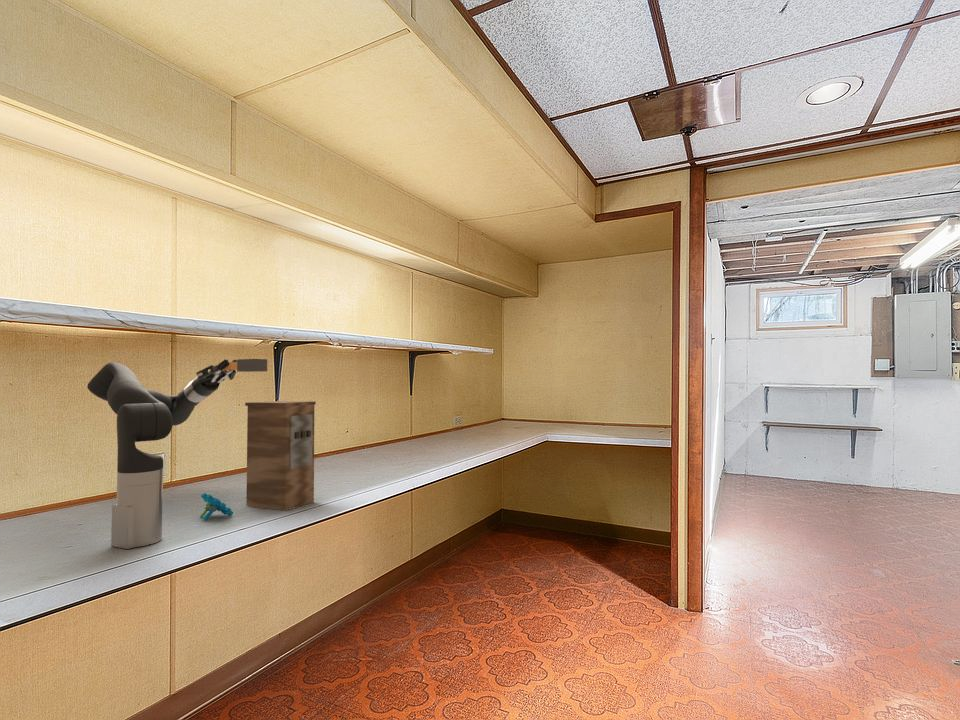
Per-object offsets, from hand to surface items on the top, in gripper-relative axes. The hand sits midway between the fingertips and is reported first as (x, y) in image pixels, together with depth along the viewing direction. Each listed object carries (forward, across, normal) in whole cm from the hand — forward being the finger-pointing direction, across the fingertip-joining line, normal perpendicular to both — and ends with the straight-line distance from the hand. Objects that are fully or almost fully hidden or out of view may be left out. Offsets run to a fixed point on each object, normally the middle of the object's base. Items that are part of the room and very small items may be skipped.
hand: (232, 361), depth 168 cm
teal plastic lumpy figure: (-7, +19, -49) cm, 53 cm away
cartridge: (+3, 0, -6) cm, 6 cm away
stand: (-3, 0, -51) cm, 51 cm away
